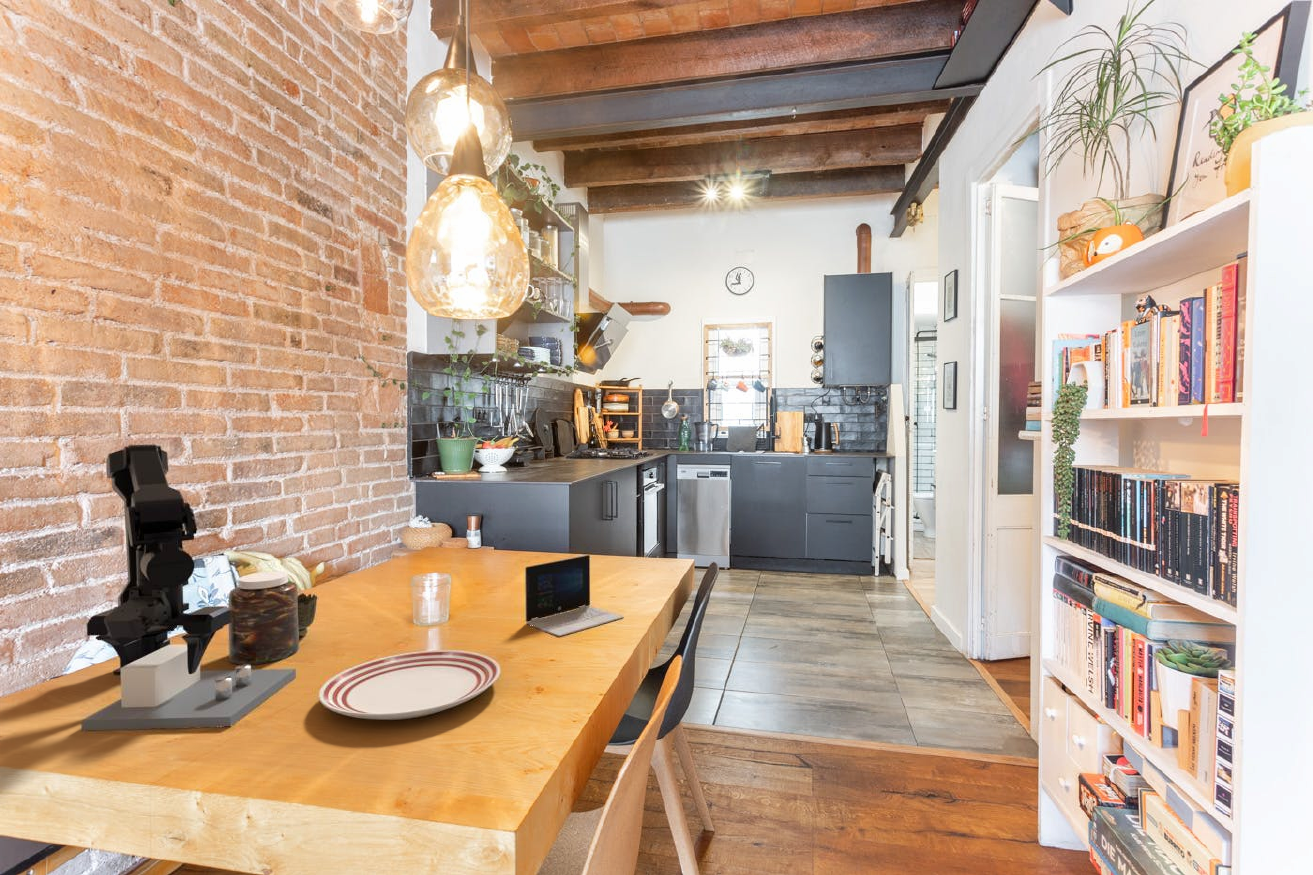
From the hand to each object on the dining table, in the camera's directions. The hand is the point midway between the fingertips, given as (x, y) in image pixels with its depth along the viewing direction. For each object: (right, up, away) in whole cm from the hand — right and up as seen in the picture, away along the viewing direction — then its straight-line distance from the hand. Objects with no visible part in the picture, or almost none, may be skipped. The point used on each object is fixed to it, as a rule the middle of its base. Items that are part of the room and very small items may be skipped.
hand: (162, 673), depth 101 cm
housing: (0, -3, 0) cm, 3 cm away
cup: (+4, -4, +31) cm, 32 cm away
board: (+6, -5, 0) cm, 7 cm away
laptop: (+60, -4, +40) cm, 73 cm away
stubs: (+11, -3, 0) cm, 11 cm away
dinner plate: (+39, -5, +3) cm, 39 cm away
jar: (+3, -4, +21) cm, 22 cm away
